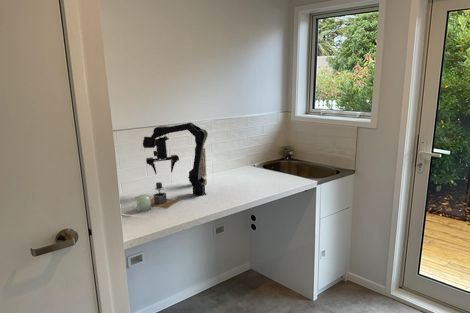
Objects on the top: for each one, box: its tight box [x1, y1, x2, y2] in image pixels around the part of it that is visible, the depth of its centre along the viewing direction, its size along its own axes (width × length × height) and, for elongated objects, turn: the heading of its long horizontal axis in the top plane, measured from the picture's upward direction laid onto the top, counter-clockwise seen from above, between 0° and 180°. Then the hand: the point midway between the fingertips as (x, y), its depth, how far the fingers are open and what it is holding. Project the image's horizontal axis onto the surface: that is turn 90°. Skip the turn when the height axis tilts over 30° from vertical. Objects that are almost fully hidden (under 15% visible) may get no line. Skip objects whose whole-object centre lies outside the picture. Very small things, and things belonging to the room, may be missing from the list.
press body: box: [152, 192, 168, 205], centre depth 201 cm, size 7×8×5 cm
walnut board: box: [150, 197, 182, 209], centre depth 200 cm, size 18×14×1 cm
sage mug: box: [135, 193, 152, 213], centre depth 189 cm, size 7×9×8 cm
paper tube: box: [194, 145, 208, 186], centre depth 234 cm, size 7×7×25 cm
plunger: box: [154, 181, 164, 195], centre depth 199 cm, size 4×4×7 cm
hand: (163, 173), depth 215 cm, fingers open, 9 cm apart
